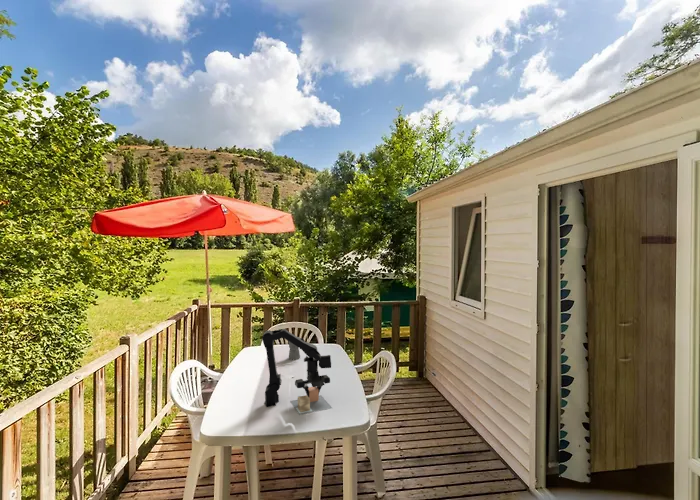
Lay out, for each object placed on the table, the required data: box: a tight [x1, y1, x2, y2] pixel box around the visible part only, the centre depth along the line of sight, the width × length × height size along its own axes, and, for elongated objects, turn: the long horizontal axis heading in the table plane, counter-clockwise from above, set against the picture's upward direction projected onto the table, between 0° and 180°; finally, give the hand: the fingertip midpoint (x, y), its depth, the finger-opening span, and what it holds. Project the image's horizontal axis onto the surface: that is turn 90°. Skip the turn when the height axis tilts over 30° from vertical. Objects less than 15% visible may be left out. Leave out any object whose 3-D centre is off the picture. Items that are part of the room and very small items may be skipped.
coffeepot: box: [287, 336, 306, 360], centre depth 280 cm, size 15×9×18 cm, turn 70°
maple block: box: [297, 394, 310, 412], centre depth 192 cm, size 5×5×6 cm
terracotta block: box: [308, 386, 320, 402], centre depth 204 cm, size 5×5×6 cm
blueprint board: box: [290, 394, 333, 416], centre depth 198 cm, size 18×18×1 cm
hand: (312, 396), depth 204 cm, fingers closed on terracotta block, 5 cm apart
